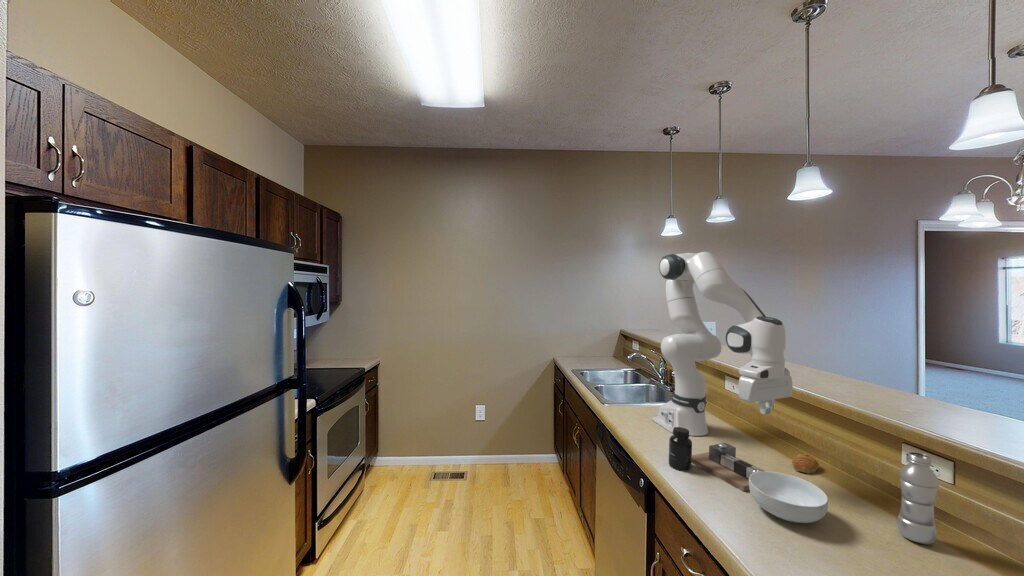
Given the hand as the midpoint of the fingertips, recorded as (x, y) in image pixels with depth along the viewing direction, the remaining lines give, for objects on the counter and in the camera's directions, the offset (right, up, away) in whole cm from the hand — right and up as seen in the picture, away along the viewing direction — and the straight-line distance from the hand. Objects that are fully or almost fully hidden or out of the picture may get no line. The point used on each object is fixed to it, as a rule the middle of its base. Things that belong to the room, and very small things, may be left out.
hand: (765, 413), depth 121 cm
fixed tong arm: (-10, -17, -3) cm, 20 cm away
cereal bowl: (-8, -20, -21) cm, 30 cm away
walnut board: (-10, -19, +2) cm, 21 cm away
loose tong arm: (-9, -17, -2) cm, 20 cm away
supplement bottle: (-25, -19, +4) cm, 32 cm away
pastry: (+16, -20, +5) cm, 26 cm away
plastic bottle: (+16, -20, -30) cm, 39 cm away
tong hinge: (-10, -17, +6) cm, 21 cm away
